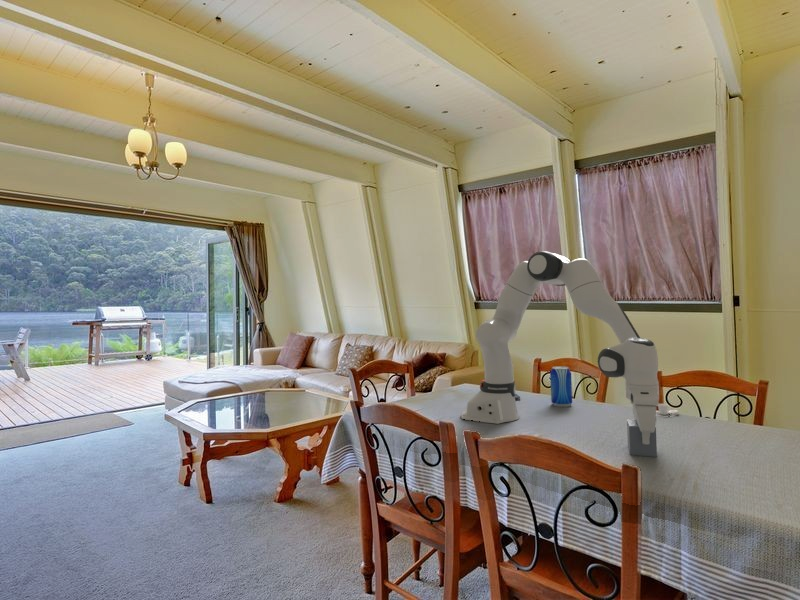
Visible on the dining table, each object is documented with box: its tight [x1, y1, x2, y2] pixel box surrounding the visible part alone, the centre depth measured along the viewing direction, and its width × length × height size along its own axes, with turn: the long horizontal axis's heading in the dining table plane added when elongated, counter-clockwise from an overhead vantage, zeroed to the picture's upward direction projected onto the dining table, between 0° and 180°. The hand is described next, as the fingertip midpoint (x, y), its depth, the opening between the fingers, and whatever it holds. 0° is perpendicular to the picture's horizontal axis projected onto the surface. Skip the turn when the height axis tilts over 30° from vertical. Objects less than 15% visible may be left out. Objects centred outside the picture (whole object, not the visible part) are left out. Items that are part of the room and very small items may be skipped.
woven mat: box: [515, 392, 521, 401], centre depth 211 cm, size 10×11×2 cm
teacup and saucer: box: [656, 403, 680, 418], centre depth 175 cm, size 9×8×4 cm
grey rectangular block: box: [626, 418, 658, 458], centre depth 138 cm, size 7×7×9 cm
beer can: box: [549, 365, 573, 408], centre depth 195 cm, size 8×8×16 cm
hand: (643, 438), depth 137 cm, fingers open, 8 cm apart
